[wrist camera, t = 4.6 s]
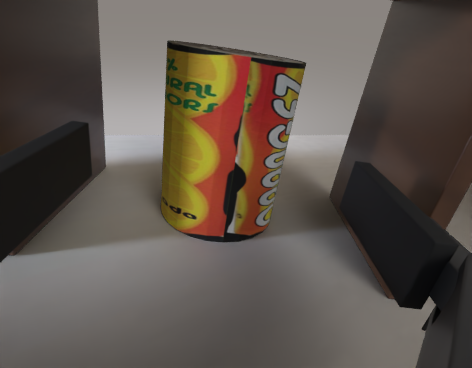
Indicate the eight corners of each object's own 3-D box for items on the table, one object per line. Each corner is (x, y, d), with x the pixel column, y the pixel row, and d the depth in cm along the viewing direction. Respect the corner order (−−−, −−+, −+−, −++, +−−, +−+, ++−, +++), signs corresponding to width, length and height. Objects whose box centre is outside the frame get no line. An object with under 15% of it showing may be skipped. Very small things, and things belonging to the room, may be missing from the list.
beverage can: (155, 240, 20) (162, 43, 14) (164, 180, 28) (170, 39, 22) (283, 243, 21) (330, 69, 16) (257, 186, 29) (283, 56, 24)
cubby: (344, 198, 30) (420, -20, 22) (413, 301, 18) (634, -88, 10) (89, 164, 28) (70, -84, 20) (-16, 253, 17) (-160, -251, 9)
